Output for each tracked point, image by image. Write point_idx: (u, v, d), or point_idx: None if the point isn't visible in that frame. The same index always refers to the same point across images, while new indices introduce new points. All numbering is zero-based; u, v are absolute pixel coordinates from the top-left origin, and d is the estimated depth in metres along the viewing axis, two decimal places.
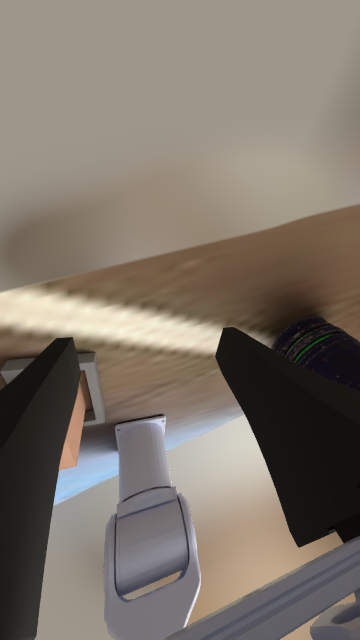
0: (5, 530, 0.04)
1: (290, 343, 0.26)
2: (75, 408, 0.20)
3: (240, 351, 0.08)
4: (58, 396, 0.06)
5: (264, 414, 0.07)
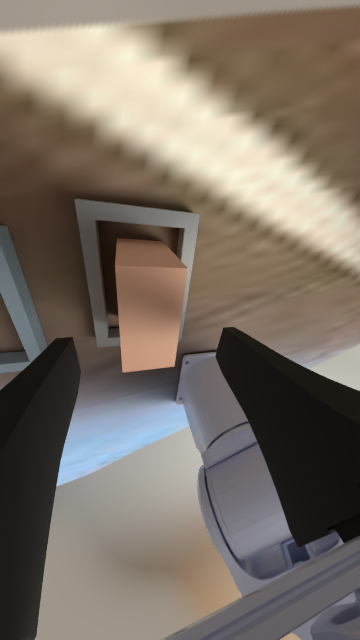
0: (5, 530, 0.04)
1: None
2: None
3: (240, 351, 0.08)
4: (58, 396, 0.06)
5: (264, 414, 0.07)
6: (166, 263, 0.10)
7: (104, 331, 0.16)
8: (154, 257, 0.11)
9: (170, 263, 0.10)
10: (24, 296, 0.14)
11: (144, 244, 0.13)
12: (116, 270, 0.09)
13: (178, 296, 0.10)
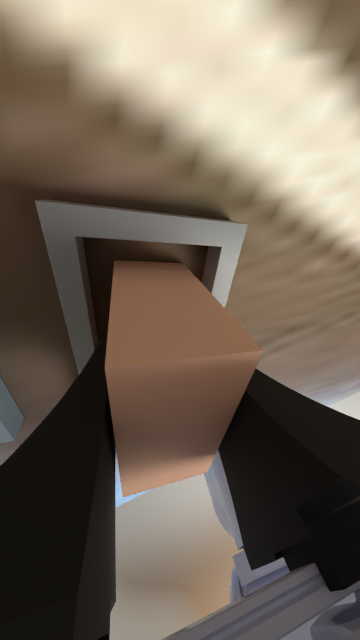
0: (106, 500, 0.04)
1: None
2: None
3: None
4: None
5: None
6: (214, 335, 0.05)
7: None
8: (184, 313, 0.05)
9: (221, 335, 0.05)
10: None
11: (158, 273, 0.08)
12: (108, 375, 0.04)
13: (233, 394, 0.05)
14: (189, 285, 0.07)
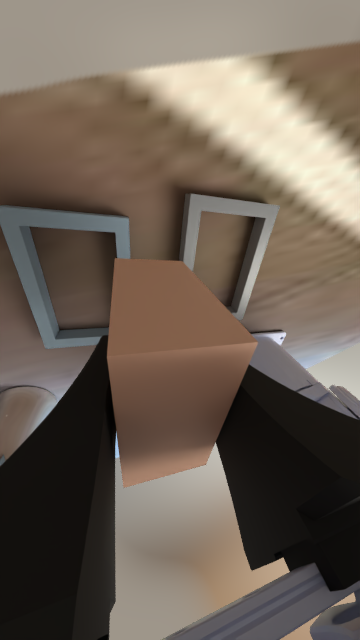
0: (105, 500, 0.04)
1: None
2: None
3: None
4: None
5: (223, 423, 0.07)
6: (211, 328, 0.05)
7: None
8: (183, 308, 0.06)
9: (218, 328, 0.05)
10: None
11: (158, 271, 0.08)
12: (110, 364, 0.04)
13: (230, 385, 0.05)
14: (188, 282, 0.08)
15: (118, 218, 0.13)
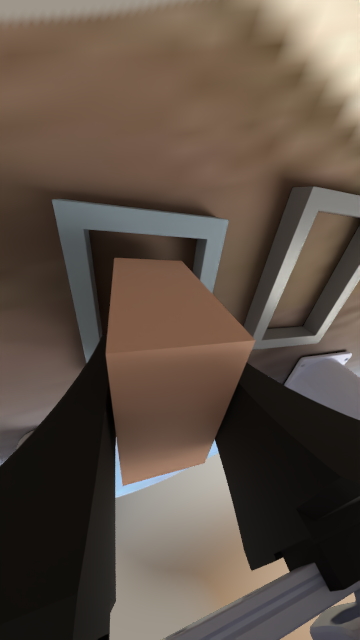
0: (106, 500, 0.04)
1: None
2: None
3: None
4: None
5: (223, 423, 0.07)
6: (209, 326, 0.05)
7: (262, 333, 0.15)
8: (181, 307, 0.06)
9: (216, 327, 0.05)
10: None
11: (157, 270, 0.08)
12: (109, 361, 0.04)
13: (228, 383, 0.05)
14: (187, 281, 0.08)
15: (216, 220, 0.10)
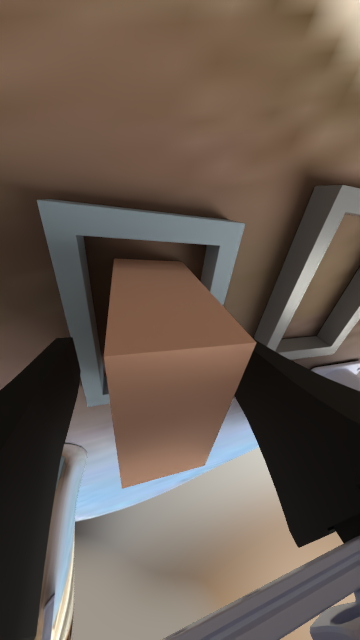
0: (5, 530, 0.04)
1: None
2: None
3: None
4: (58, 396, 0.06)
5: (264, 414, 0.07)
6: (209, 328, 0.05)
7: (275, 346, 0.14)
8: (181, 308, 0.06)
9: (216, 329, 0.05)
10: None
11: (157, 271, 0.08)
12: (107, 364, 0.04)
13: (228, 386, 0.05)
14: (187, 282, 0.08)
15: (230, 224, 0.08)
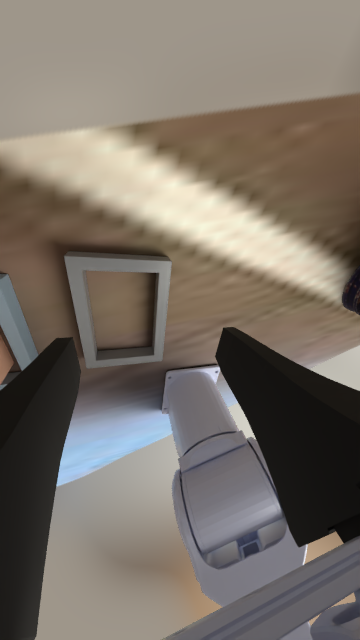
0: (5, 530, 0.04)
1: None
2: None
3: (240, 351, 0.08)
4: (58, 396, 0.06)
5: (264, 414, 0.07)
6: None
7: (92, 355, 0.19)
8: None
9: None
10: (22, 329, 0.16)
11: None
12: None
13: None
14: None
15: None
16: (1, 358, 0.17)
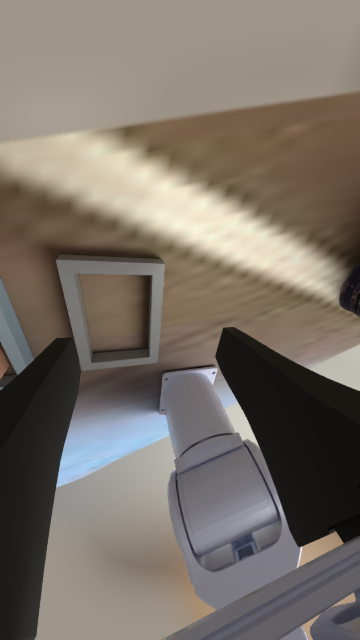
0: (5, 530, 0.04)
1: None
2: None
3: (240, 351, 0.08)
4: (58, 396, 0.06)
5: (264, 414, 0.07)
6: None
7: (87, 358, 0.19)
8: None
9: None
10: (16, 332, 0.16)
11: None
12: None
13: None
14: None
15: None
16: None
